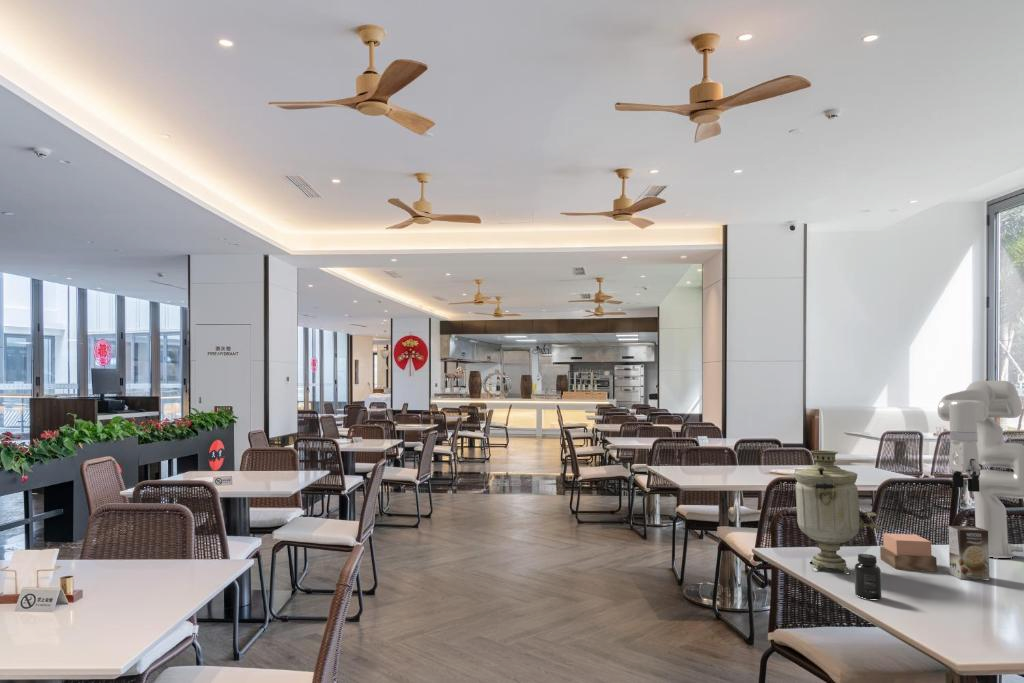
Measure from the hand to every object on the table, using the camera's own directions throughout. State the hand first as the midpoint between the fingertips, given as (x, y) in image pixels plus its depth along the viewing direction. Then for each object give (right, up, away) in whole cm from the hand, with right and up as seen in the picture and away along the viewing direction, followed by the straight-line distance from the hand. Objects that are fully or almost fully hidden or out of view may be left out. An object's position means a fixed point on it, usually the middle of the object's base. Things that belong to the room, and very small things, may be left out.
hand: (965, 489), depth 211 cm
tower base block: (-12, -30, +12) cm, 34 cm away
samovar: (-41, -29, +4) cm, 50 cm away
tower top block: (-12, -25, +13) cm, 30 cm away
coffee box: (0, -29, -2) cm, 29 cm away
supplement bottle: (-46, -27, -23) cm, 58 cm away
